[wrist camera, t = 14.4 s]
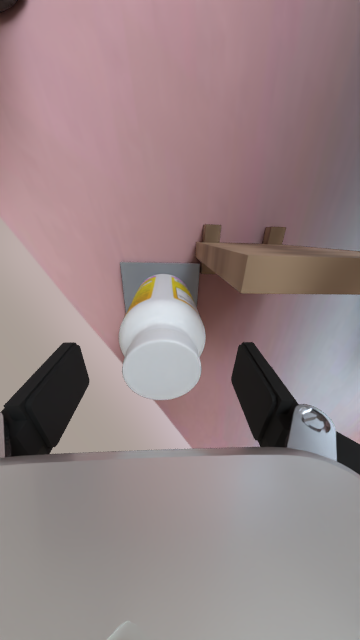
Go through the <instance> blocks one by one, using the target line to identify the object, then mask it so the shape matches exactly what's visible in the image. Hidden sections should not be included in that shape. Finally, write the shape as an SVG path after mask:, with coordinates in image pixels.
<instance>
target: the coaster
mask: <svg viewBox="0 0 360 640" xmlns="http://www.w3.org/2000/svg"><path fill="white" fill-rule="evenodd" d="M120 266H121V274H122V283H123V292H124V300H125V309H126V313H127V311H128V309H129V307H130V305H131V303H132V301H133V299H134V297H135V294H136V292H137V290H138V289H139V287H140V285H141V284H142V283H143V282H144V281H145V280H146V279H148V278H149V277H151V276H154V275H157V274H169V275H172V276H175V277H177V278H179V279H180V280H181V281H182V282H183V283H184V284H185V285H186V286H187V288H188V290H189V291H190V294H191V296H192V298H193V301H194V303H195V306H196V308H197V296H198V283H199V270H200V264H199V263H161V262H120Z"/></svg>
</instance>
